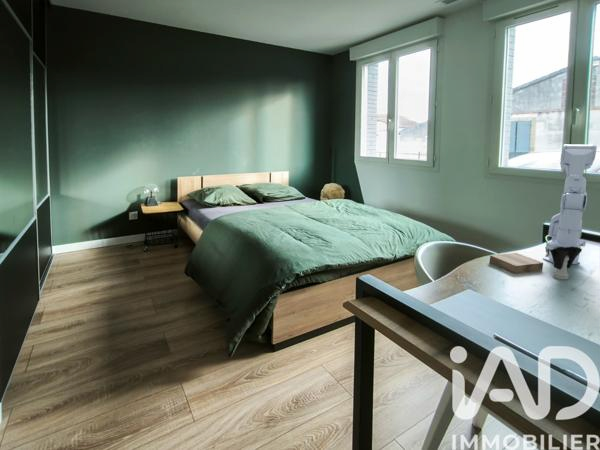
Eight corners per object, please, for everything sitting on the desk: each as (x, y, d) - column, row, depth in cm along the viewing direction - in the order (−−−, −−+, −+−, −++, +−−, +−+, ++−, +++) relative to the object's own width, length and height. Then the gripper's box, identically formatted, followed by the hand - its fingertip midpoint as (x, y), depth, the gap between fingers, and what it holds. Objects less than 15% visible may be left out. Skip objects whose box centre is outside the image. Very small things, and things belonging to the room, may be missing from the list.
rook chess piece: (570, 280, 122) (574, 258, 120) (555, 279, 123) (559, 257, 121) (564, 275, 127) (568, 253, 125) (549, 274, 127) (553, 253, 126)
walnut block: (515, 260, 143) (516, 252, 142) (542, 270, 131) (543, 262, 131) (489, 262, 140) (490, 255, 139) (514, 274, 128) (515, 266, 128)
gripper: (562, 233, 115) (555, 274, 118) (597, 230, 119) (590, 269, 122) (542, 228, 122) (536, 266, 125) (576, 225, 125) (570, 262, 129)
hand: (561, 267), depth 124 cm, fingers closed on rook chess piece, 3 cm apart
